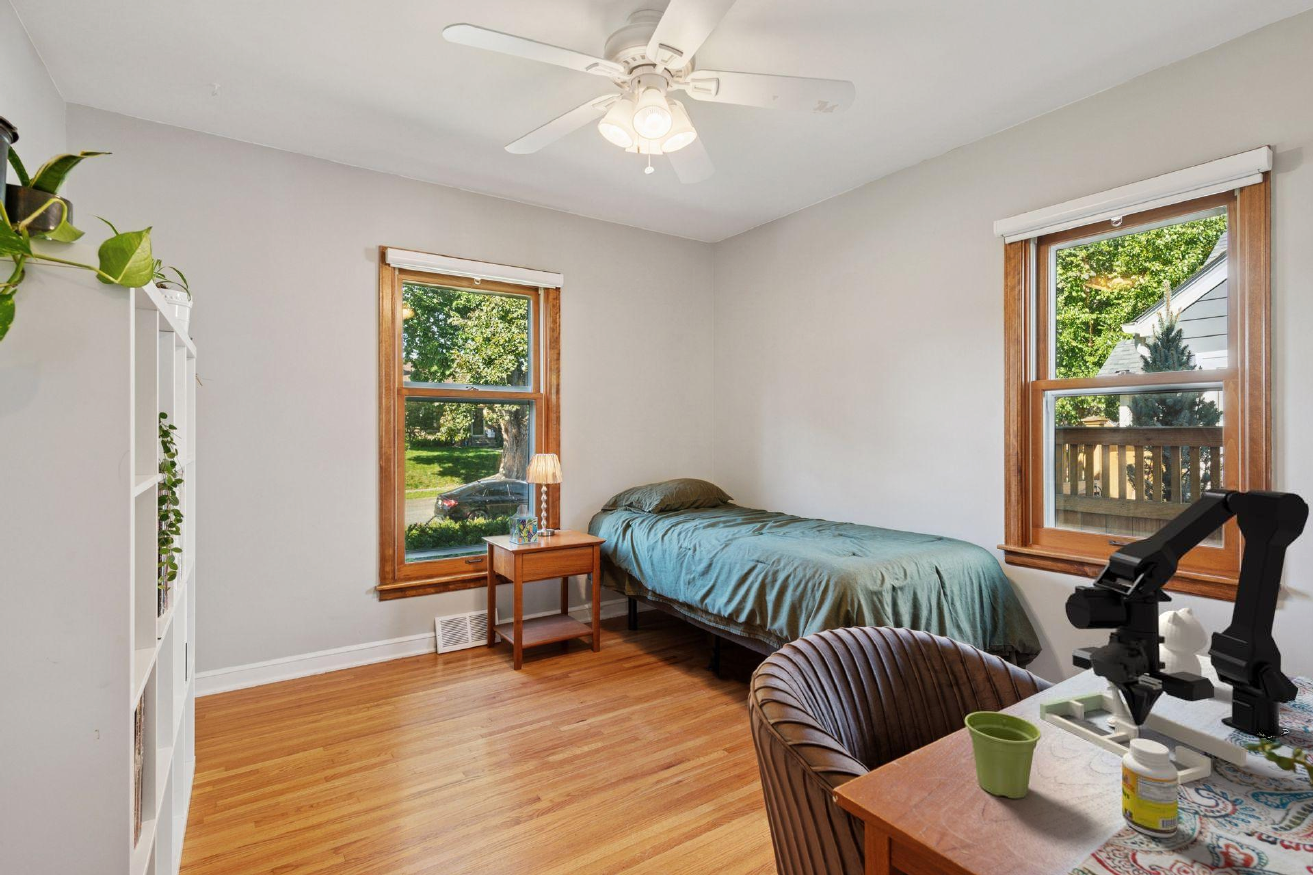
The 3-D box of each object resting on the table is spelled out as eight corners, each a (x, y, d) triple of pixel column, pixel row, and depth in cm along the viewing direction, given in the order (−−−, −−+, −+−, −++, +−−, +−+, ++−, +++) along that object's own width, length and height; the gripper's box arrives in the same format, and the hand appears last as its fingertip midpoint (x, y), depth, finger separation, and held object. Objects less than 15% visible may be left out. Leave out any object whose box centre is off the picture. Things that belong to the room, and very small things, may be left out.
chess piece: (1148, 725, 104) (1128, 660, 107) (1115, 728, 105) (1096, 664, 108) (1134, 719, 109) (1115, 658, 112) (1102, 722, 110) (1084, 661, 113)
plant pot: (949, 777, 92) (949, 717, 92) (996, 763, 96) (996, 706, 96) (1008, 813, 84) (1008, 747, 84) (1056, 796, 88) (1057, 733, 87)
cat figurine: (1193, 698, 119) (1195, 618, 118) (1118, 674, 130) (1120, 601, 129) (1216, 689, 123) (1218, 611, 123) (1141, 666, 134) (1143, 595, 134)
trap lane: (1099, 705, 116) (1100, 691, 116) (1246, 765, 95) (1246, 748, 95) (1040, 717, 111) (1040, 703, 111) (1180, 784, 90) (1180, 766, 90)
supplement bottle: (1123, 807, 85) (1124, 730, 85) (1177, 824, 81) (1178, 743, 81) (1119, 827, 81) (1120, 746, 81) (1176, 846, 77) (1177, 761, 77)
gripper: (1048, 618, 111) (1050, 710, 111) (1167, 648, 94) (1169, 757, 93) (1093, 613, 115) (1095, 702, 115) (1215, 641, 98) (1217, 746, 97)
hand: (1138, 725), depth 105 cm, fingers closed, pressing on chess piece
